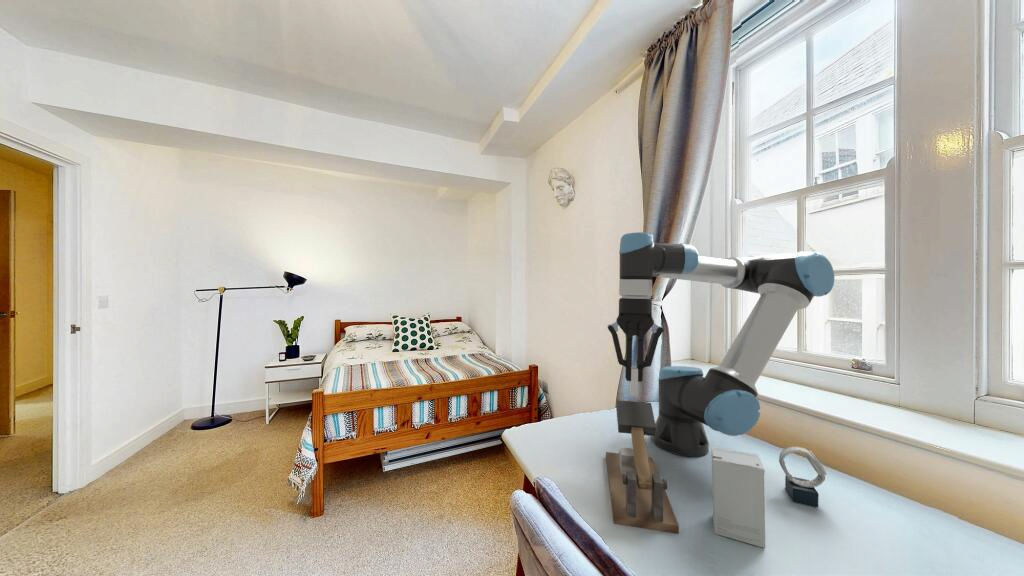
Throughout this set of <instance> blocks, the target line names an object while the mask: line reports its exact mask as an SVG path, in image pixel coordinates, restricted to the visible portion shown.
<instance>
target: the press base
mask: <svg viewBox="0 0 1024 576" xmlns="http://www.w3.org/2000/svg"><path fill="white" fill-rule="evenodd" d="M647 457H648V464H649V470H650V476H651V482H652V489H651V490H643V489H638V485H637V476H636V468H635V460H634V452H633V447H631V448H630V447H624V446H620V447H619V453H618V452H610V451H609V452H608V451H606V452H605V461H606V469H607V478H608V479H607V480H608V487H609V495H610V496H609V497H610V503H611V512H612V521H613V524H615V525H622V526H629V527H635V528H640V529H641V528H642V529H647V530H655V531H660V532H667V533H674V534H679V533H680V530H679V528H680V525H679V523H678V520H677V517H676V514H675V513H674V509H673V507H672V504H671V501H670V499H669V496H668V494H667V492H666V491H668V482H667V479H664V478H662V475H661V474H659V470H658V468H657V465H656V464H655V460H654V457H653V456H647Z"/></svg>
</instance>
